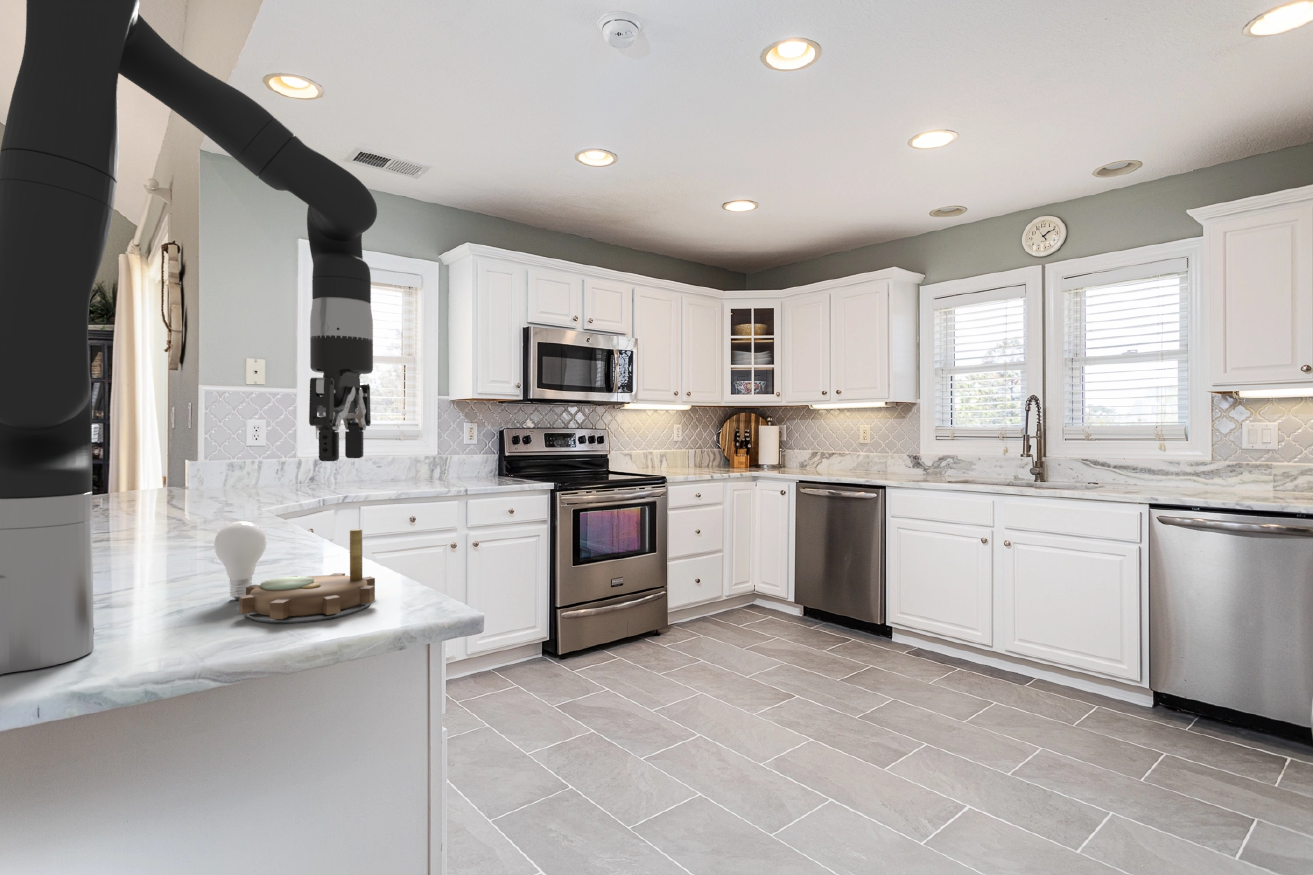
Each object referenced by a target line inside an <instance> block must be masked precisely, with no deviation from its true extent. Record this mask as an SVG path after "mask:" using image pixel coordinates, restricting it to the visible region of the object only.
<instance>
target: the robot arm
mask: <svg viewBox="0 0 1313 875" xmlns="http://www.w3.org/2000/svg"><path fill="white" fill-rule="evenodd" d="M25 4H26V11H25V12H26V13H25V14H26V16H25V19H26V20H25V21H26V22H25V23H26V24H25V38H24V39H25V40H24V48H23V54H22V58H21V64H20V66H19V70H18V73H17V77H16V80H15V83H14V88H13V91H12V94H11V100H10V103H9V107H8V112H7V116H6V120H5V124H4V126H5V127H4V131H3V136H2V139H1V140H2V141H1V145H0V675H4V674H8V673H13V672H23V671H30V670H36V669H42V668H48V667H52V666H56V665H59V664H60V665H61V664H64V663H67V662H71V661H74V660H76V659H80V658H81V657H84V656H86V655H88V654H90V653H91V652H92V651H94V648H95V646H94V645H95V644H94V643H95V642H94V640H95V638H94V637H95V636H94V635H95V627H94V626H95V625H94V565H93V564H94V562H93V561H94V560H93V559H94V558H93V557H94V556H93V553H94V551H93V542H94V541H93V448H92V447H93V442H92V440H93V436H92V432H93V431H92V430H93V428H92V425H93V424H92V421H93V420H92V417H93V415H92V408H93V407H92V379H91V373H90V361H89V360H90V359H89V358H90V357H89V318H90V317H89V314H90V305H91V299H92V298H91V297H92V296H91V295H92V292H93V288H94V284H95V282H96V278H97V276H98V272H99V269H100V267H101V263H102V260H103V258H104V253H105V251H106V247H107V244H108V240H109V236H110V232H111V226H112V222H113V216H114V208H115V202H116V193H117V184H118V175H119V174H118V173H119V172H118V171H119V151H120V150H119V148H120V146H119V144H120V143H119V142H120V141H119V139H120V138H119V136H120V135H119V134H120V133H119V131H120V130H119V129H120V128H119V107H118V105H119V103H118V82H119V81H118V80H119V75H121V76H122V77H124V78H125V79H126V80H128V81H130V83H133V84H134V85H136V87H139V88H140V89H142V90H143V91H144V92H146V93H147V94H150V96H152V97H153V98H155V99H156V100H158V101H159V102H161V103H162V104H164V105H165V106H167V107H168V108H169V109H170V110H172V111H173V112H175V113H176V114H178V115H179V116H180V117H182V119H184V120H186V121H187V122H188V123H190V124H191V125H192V126H194V127H195V128H197V130H198V131H200V132H202V133H203V134H204V135H205V136H207V137H208V138H209V139H210V140H211V141H212V142H214V143H215V144H216V145H217V146H219V147H220V148H221V149H222V150H224V151H225V152H226V153H227V154H228V155H230V156H231V157H232V158H234V160H236V161H237V162H238V163H239V164H241V165H242V166H243V167H244V168H246V169H247V170H248V171H249V172H250V173H252V174H253V175H254V176H255V177H257V178H258V179H259V180H261V181H262V182H263V183H264V184H266V185H268V186H269V187H270V188H272V189H274V190H276V191H282V192H283V191H284V192H285V191H287V192H289V193H291V194H293V196H295V197H297V198H298V199H299V200H301V201H302V202H304V203H305V204H306V205H308V206H307V213H306V214H307V215H306V225H307V226H306V227H307V238H308V244H309V250H310V255H311V259H312V274H311V275H312V278H311V279H312V281H311V283H312V284H311V287H312V291H311V292H312V296H311V297H312V298H311V299H312V300H311V301H312V302H311V303H312V304H311V311H310V318H309V319H310V321H309V322H310V324H309V325H310V326H309V327H310V328H309V329H310V330H309V331H310V332H309V335H310V338H309V340H310V341H309V342H310V344H309V347H310V350H309V352H310V353H309V354H310V356H309V358H310V361H309V364H310V366H309V367H310V369H311V371H313V372H315V373H320V374H322V377H315V376H314V377H311V378H310V380H309V406H308V407H309V409H308V410H309V411H308V424H309V426H311V427H314V428H315V430H316V431H317V432H318V460H319V461H321V462H338V460H339V459H340V432H339V430H340V428H341V424H342V423H341V422H343V425H344V428H345V430H346V431H345V433H344V435H345V437H344V438H345V440H344V441H345V443H344V447H345V448H344V452H345V454H344V455H345V458H346V459H361V458H363V457H364V431H366V429H367V427H370V426H371V423H372V420H371V417H372V416H371V385H370V384H369V383H361V380H360V376H361V375H367V374H368V375H369V374H371V373H372V372H373V371H374V321H373V320H374V319H373V314H372V298H371V297H372V290H371V289H372V286H371V284H372V283H371V282H372V280H371V279H372V278H371V269H370V267H369V265H368V263H367V262H366V261H365V260H363V257H364V255H363V245H362V244H363V242H362V239H363V238H362V237H363V234H364V233H365V232H367V231H368V230H369V229H371V227H372V226H373V224H374V223H375V222H376V219H377V217H378V207H377V203H376V200H375V198H374V196H373V194H372V192H371V191H370V190H369V188H368V187H367V186H366V185H365V184H364V183H363V182H362V181H361V180H360V179H359V178H357V177H356V176H355V175H354V174H352V173H351V172H350V171H348V170H347V169H345V168H344V167H343V166H340V165H339V164H338V163H336V162H335V161H333V160H332V159H329V158H328V157H327V156H325V155H324V154H321V153H319V152H318V151H316V150H314V149H313V148H311V147H309V145H307V144H305V143H304V142H303V141H302V140H301V139H300V138H299V137H298V136H297V135H295V133H293V131H291V130H290V129H289V128H288V127H287V126H285V125H284V124H283V123H282V122H281V121H280V120H278V118H276V117H275V116H274V115H273V114H272V113H270V112H269V111H268V110H267V109H266V108H264V107H263V105H261V104H259V103H258V102H257V101H256V100H254V99H252V98H251V97H250V96H248V95H247V94H246V93H244V92H242V91H241V90H239V89H237V88H235V87H233V86H231V85H230V84H228V83H226V82H225V81H223V80H221V79H219V78H217V77H215V76H214V75H212V74H211V73H209V72H207V71H205V70H204V69H202V68H200V67H199V66H197V65H196V64H194V63H193V62H192V61H190V60H189V59H188V58H186V57H185V56H183V54H181V53H180V52H178V50H176V49H175V48H173V47H172V46H171V44H169V43H168V42H166V40H164V38H162V37H161V36H160V34H158V33H157V31H156V30H155V29H153V28H152V26H151V25H150V24H149V22H147V21H146V20H145V18H143V17H142V16H141V15H140V13H139V7H140V0H26V3H25Z"/></svg>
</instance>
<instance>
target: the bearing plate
mask: <svg viewBox="0 0 1313 875" xmlns="http://www.w3.org/2000/svg"><path fill="white" fill-rule="evenodd" d="M371 604H372V602H371V603H370V604H364V603H360V604H357V605H355V606H352V607H349V608H345V609H341V610H340V613H336V614H330V615H326V614H324V613H319V614H311V615H299V616H288V617H286V618H284V619H270V615H262V614H258V613H255V612H254V613H248V614H245V616H246V618H247V619H249V620H250V621H253V622H257V623H265V624H277V625H278V624H284V625H285V624H286V625H287V624H301V623H302V624H304V623H312V622H313V623H315V622H320V621H327V620H332V619H338V618H342V617H347V616H349V615H352V614H356V613H358V612H361V611H364V610H365V609H367V608H369V606H371Z"/></svg>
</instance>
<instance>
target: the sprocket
mask: <svg viewBox="0 0 1313 875" xmlns="http://www.w3.org/2000/svg"><path fill="white" fill-rule="evenodd" d="M375 595H376V578H375V577H373V576H363V529H358V528H357V529H350V530H349V575H346V573H344V572H343V573H340V572H338V573H337V572H335V573H332V574H329V575H327V574H326V575H310V576H309V575H308V576H299V575H293V576H284V577H277V578H273V579H269V580H266V581H265V580H264V581H262V582H261V583H260V584H251V586H249V587H246V595H244V596H239V600H238V612H239V613H240V614H241V615H246V614H248V613H254V612H255V613H258V614H262V615H270V619H284V618H286V617H288V616H299V615H311V614H319V613H324V614H326V615H330V614H336V613H340V610H341V609H345V608H349V607H352V606H355V605H357V604H360V603H364V604H370V603H371V604H372V603H373V602H375V601H376V600H375V598H376V596H375ZM371 604H370V605H371Z"/></svg>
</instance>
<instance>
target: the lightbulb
mask: <svg viewBox="0 0 1313 875" xmlns="http://www.w3.org/2000/svg"><path fill="white" fill-rule="evenodd" d="M267 540H268V539H267V535H266V533H265V532H264V530H263V528H261V526H259V525H258V524H256V523H255V522H251V521H249V520H248V521H246V520H237V521H233V522H230V523H228V524H226V525H225V526H223V527H222V528H221V529H220V530H219V531H218V532H217V534H216V536H215V538H214V541H213V549H214V553H215V555H216V557H217V558H218V560H219V561H220V562H221V564H223V566H224V569H225V571H226V575H227V577H228V579H229V588H230V589H229V591H230V592H229V596H230V597H231V598H233V599H236V600H238V601H239V596H244V595H246V587H249V586H251V585H253V582H252V581H253V575H254V574H255V571H256V567H257V564H258V563H259V561H260V559H261V558H262V557H263V555H264V553H265V551H266V549H267V544H268V541H267Z"/></svg>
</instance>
